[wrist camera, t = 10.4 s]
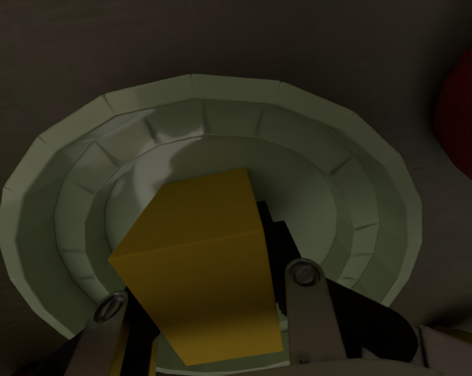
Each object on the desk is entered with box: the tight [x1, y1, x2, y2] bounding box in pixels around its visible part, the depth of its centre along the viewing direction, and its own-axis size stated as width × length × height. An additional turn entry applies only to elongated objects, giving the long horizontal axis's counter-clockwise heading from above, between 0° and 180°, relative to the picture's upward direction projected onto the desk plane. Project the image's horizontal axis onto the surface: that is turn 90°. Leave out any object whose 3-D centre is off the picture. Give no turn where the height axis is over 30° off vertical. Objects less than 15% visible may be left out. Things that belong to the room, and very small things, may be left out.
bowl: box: [0, 73, 422, 376], centre depth 11 cm, size 18×18×4 cm
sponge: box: [108, 167, 284, 366], centre depth 9 cm, size 7×4×5 cm, turn 11°
